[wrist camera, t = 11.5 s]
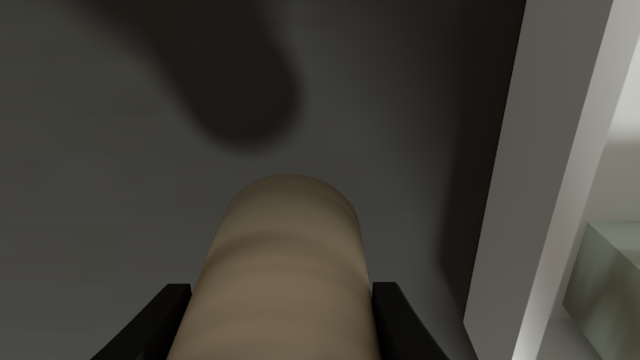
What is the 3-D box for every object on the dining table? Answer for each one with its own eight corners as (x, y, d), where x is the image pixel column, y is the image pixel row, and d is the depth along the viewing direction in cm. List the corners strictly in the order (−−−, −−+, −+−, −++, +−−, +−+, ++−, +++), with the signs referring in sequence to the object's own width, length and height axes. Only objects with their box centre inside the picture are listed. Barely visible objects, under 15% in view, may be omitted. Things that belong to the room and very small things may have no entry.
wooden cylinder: (357, 290, 16) (383, 493, 10) (228, 291, 16) (171, 494, 10) (363, 173, 14) (400, 338, 7) (213, 174, 14) (125, 340, 7)
